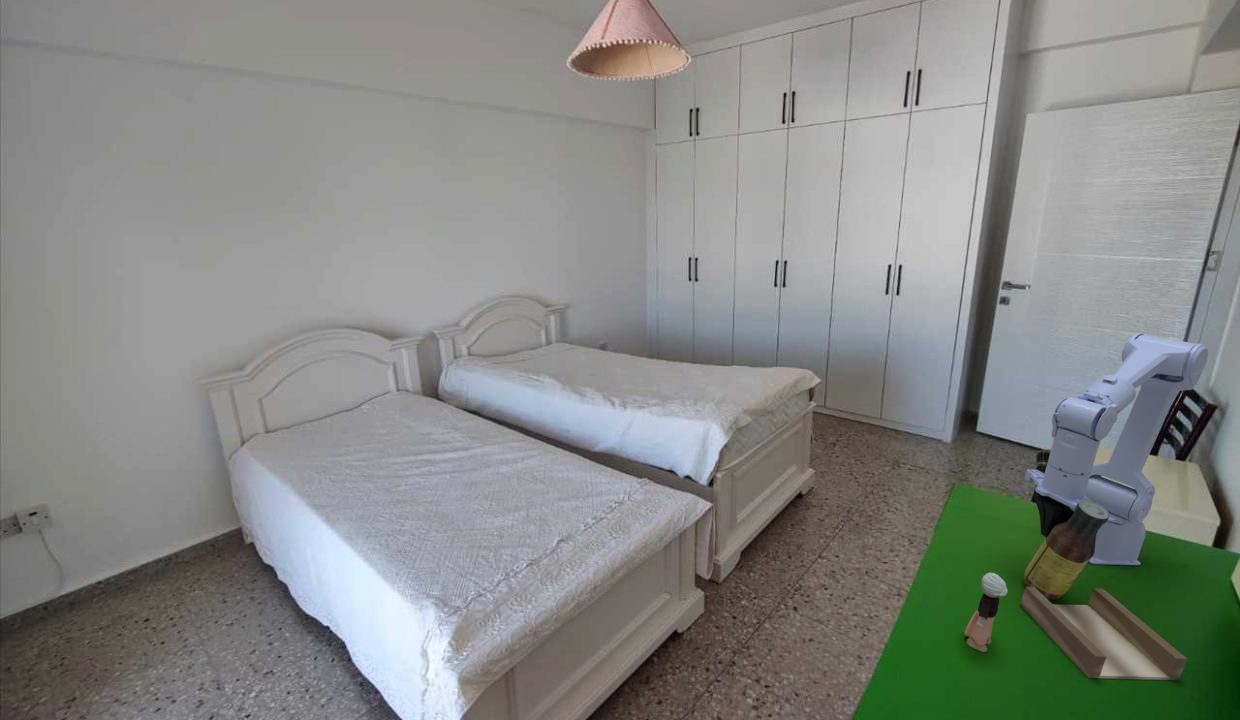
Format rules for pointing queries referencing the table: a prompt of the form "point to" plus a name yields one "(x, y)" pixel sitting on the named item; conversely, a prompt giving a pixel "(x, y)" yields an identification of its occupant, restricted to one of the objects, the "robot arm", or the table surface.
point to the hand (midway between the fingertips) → (1049, 536)
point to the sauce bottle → (1066, 551)
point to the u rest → (1105, 638)
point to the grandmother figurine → (985, 612)
